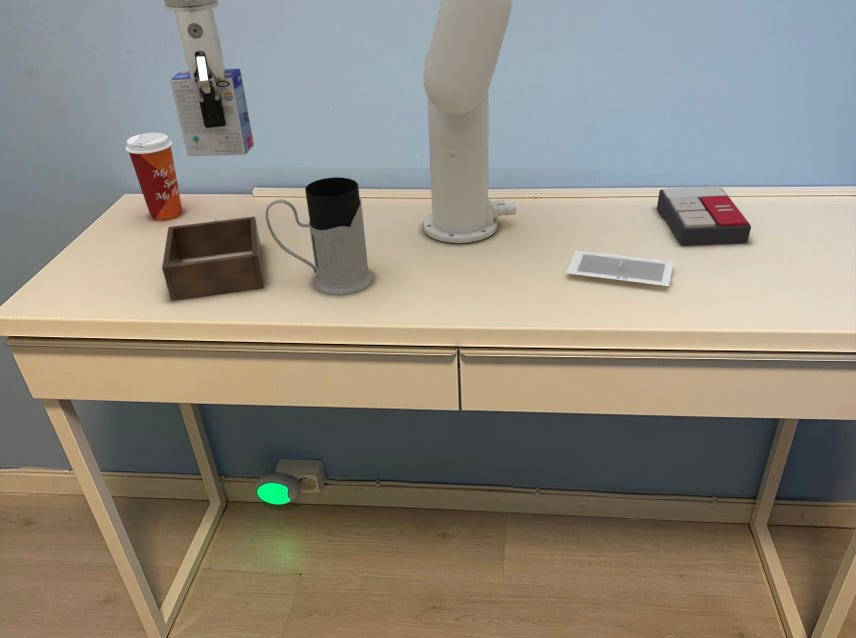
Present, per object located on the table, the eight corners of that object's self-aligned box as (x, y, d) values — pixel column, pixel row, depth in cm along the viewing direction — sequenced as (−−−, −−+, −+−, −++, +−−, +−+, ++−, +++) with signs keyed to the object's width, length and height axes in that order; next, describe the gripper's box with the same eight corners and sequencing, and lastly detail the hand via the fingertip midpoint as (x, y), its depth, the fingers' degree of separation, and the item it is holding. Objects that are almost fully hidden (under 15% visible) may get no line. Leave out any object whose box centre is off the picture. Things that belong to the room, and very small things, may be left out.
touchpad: (575, 256, 119) (576, 244, 118) (672, 268, 115) (674, 255, 113) (565, 279, 113) (566, 266, 111) (668, 292, 109) (670, 279, 107)
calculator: (684, 225, 118) (659, 185, 130) (680, 249, 121) (655, 207, 133) (753, 222, 119) (722, 182, 130) (747, 246, 121) (717, 205, 133)
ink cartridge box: (255, 144, 124) (239, 51, 116) (248, 156, 119) (230, 61, 111) (196, 145, 124) (175, 53, 116) (186, 157, 120) (164, 63, 111)
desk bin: (260, 246, 125) (255, 216, 122) (264, 288, 113) (257, 255, 110) (176, 257, 123) (168, 226, 119) (171, 300, 111) (161, 267, 108)
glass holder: (374, 291, 111) (364, 196, 103) (277, 301, 110) (259, 205, 101) (370, 264, 119) (360, 173, 110) (279, 273, 117) (262, 181, 108)
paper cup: (175, 223, 134) (155, 146, 126) (136, 221, 135) (114, 144, 127) (196, 206, 140) (178, 132, 132) (158, 204, 141) (139, 130, 133)
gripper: (216, 3, 102) (240, 134, 113) (217, -15, 116) (238, 103, 127) (159, 8, 101) (189, 139, 111) (167, -12, 115) (193, 107, 125)
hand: (215, 119), depth 119 cm, fingers closed on ink cartridge box, 6 cm apart
